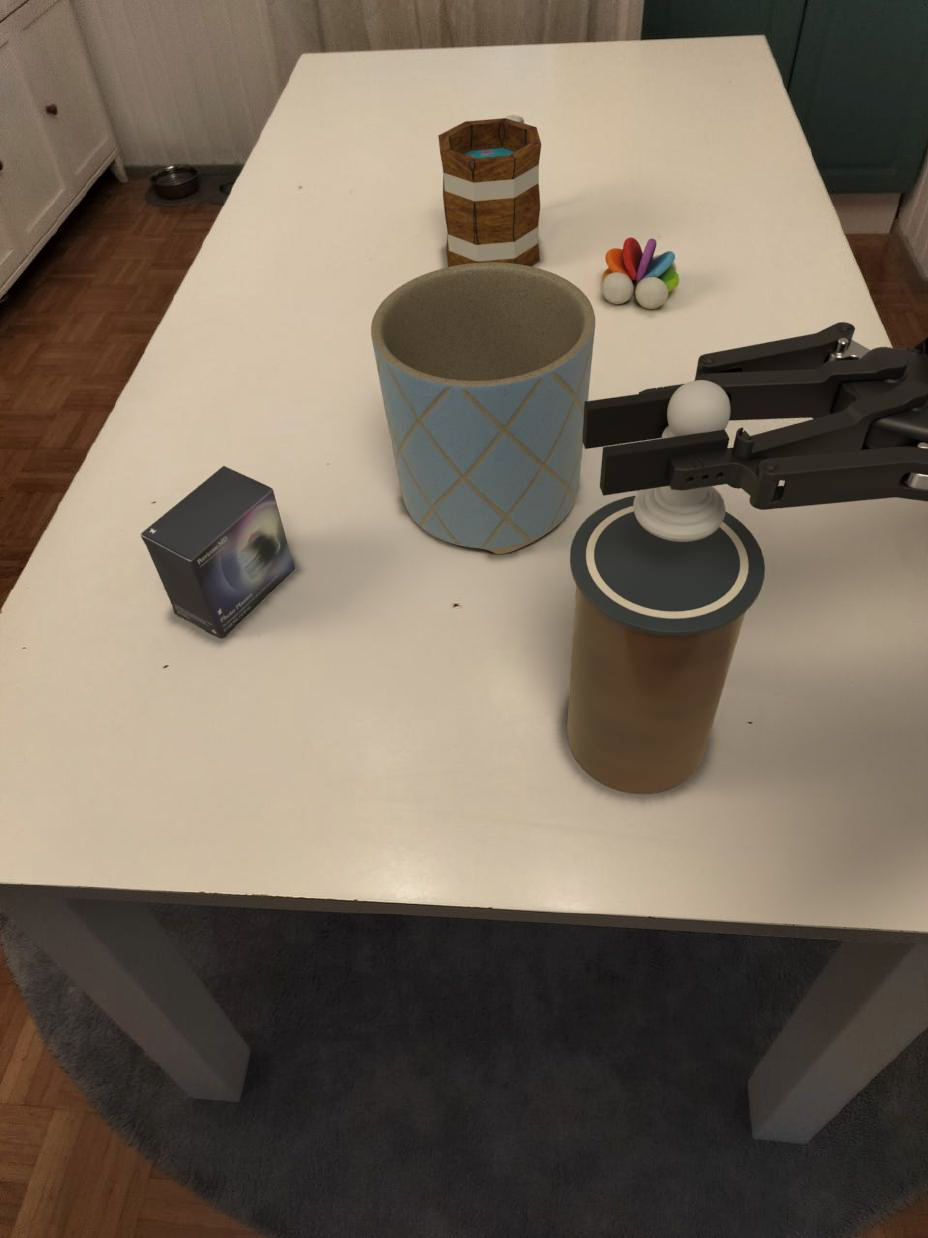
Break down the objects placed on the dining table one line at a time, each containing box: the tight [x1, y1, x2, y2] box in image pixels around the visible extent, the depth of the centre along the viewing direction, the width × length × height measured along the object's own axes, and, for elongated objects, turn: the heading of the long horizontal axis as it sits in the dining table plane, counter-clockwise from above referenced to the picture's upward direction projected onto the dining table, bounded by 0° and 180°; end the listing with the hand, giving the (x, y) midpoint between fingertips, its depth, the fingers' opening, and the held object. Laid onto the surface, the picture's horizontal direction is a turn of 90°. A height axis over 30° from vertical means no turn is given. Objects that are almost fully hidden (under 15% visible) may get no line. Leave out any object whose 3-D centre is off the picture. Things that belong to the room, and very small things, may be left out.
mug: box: [437, 114, 542, 267], centre depth 117 cm, size 20×14×15 cm
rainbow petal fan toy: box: [601, 236, 680, 310], centre depth 110 cm, size 8×10×7 cm
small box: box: [140, 465, 296, 639], centre depth 79 cm, size 11×6×10 cm, turn 147°
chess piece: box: [633, 380, 730, 542], centre depth 49 cm, size 5×5×9 cm
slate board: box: [569, 494, 766, 636], centre depth 55 cm, size 12×12×1 cm
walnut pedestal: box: [566, 584, 746, 795], centre depth 63 cm, size 11×11×20 cm
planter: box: [370, 262, 596, 555], centre depth 82 cm, size 19×19×20 cm
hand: (594, 447), depth 48 cm, fingers closed on chess piece, 3 cm apart
